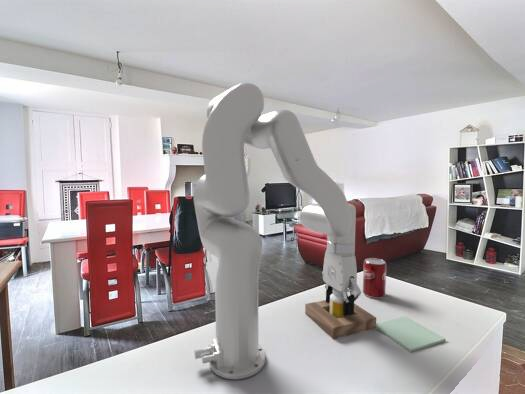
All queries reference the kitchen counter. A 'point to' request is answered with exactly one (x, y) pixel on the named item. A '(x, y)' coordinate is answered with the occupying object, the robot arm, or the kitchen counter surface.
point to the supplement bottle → (336, 304)
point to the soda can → (374, 278)
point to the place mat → (409, 333)
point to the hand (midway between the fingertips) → (339, 307)
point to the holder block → (340, 320)
